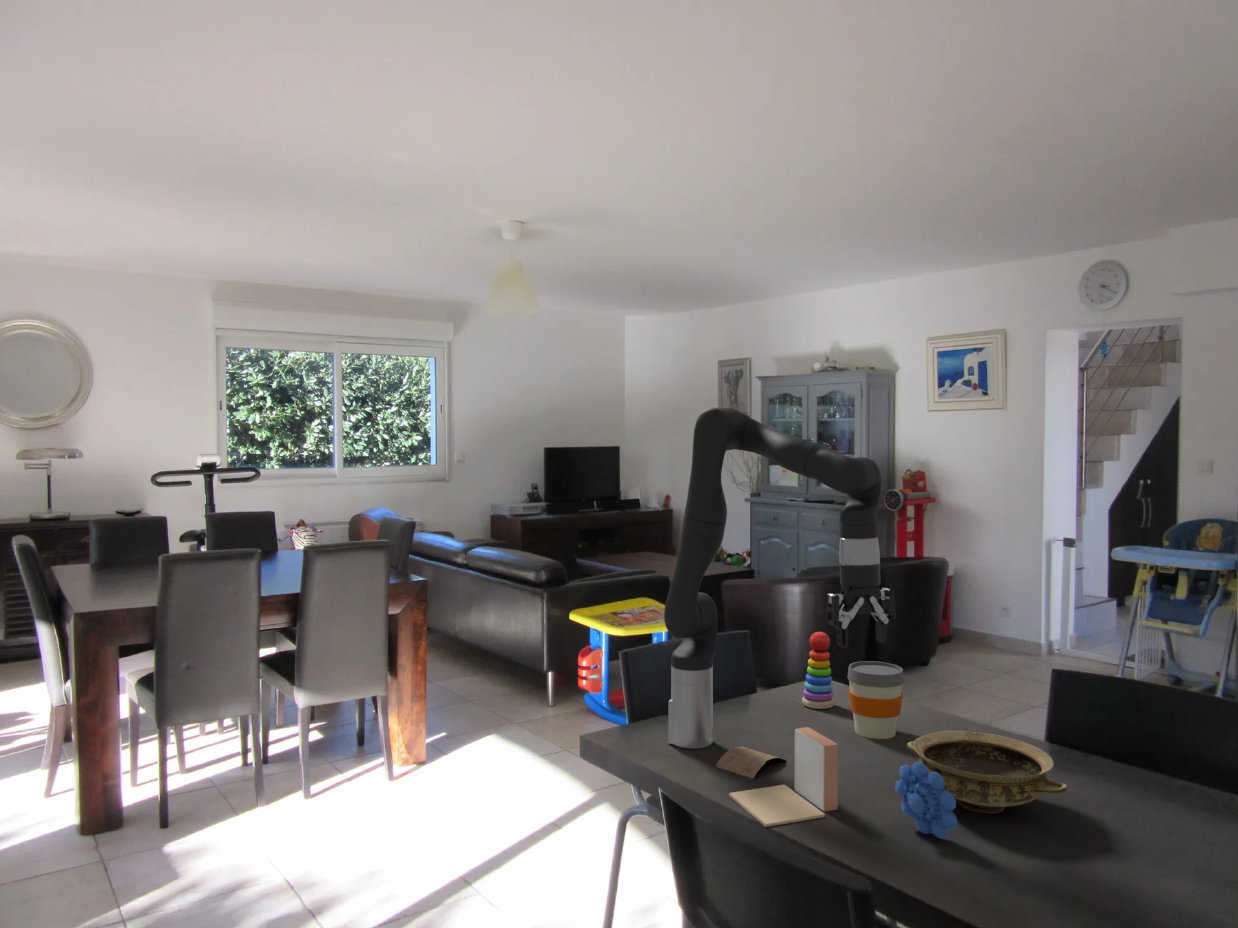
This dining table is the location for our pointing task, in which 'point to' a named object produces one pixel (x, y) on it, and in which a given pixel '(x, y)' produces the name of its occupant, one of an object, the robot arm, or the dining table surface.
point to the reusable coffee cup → (875, 697)
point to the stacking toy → (818, 674)
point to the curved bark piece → (744, 761)
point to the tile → (816, 768)
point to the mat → (776, 805)
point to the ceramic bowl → (986, 768)
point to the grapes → (926, 800)
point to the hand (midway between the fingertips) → (862, 644)
